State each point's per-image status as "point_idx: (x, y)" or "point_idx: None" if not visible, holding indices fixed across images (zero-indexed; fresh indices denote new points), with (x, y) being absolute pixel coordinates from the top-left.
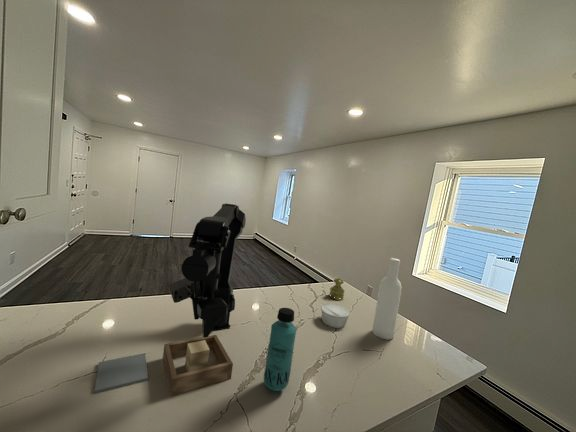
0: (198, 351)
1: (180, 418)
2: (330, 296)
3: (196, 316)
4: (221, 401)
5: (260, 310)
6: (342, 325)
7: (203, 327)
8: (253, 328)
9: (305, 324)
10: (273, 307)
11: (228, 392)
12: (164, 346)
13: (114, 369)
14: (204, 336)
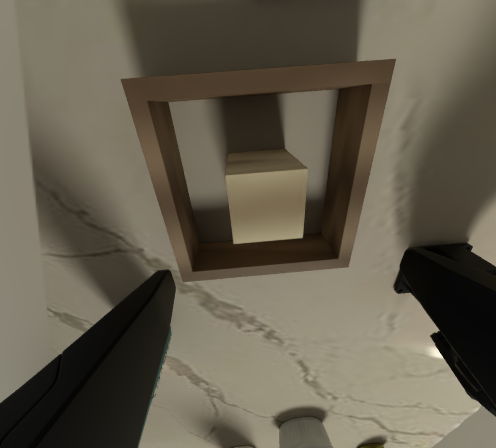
0: (232, 205)
1: (58, 108)
2: (376, 446)
3: (421, 269)
4: (117, 219)
5: (419, 356)
6: (279, 434)
7: (72, 346)
8: (358, 329)
9: (316, 397)
10: (411, 376)
11: (145, 238)
12: (381, 61)
13: None
14: (155, 278)
